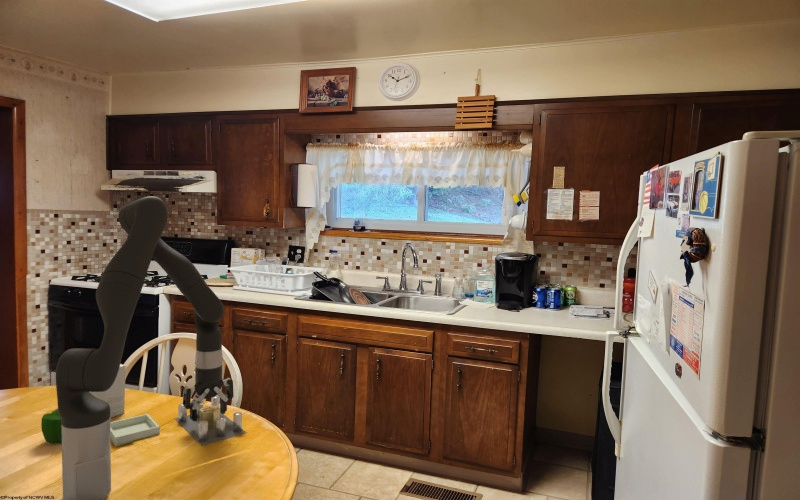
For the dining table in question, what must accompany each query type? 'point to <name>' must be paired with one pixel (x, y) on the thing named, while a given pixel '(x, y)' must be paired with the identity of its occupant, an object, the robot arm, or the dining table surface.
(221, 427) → the standing spacers
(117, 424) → the sage parts tray
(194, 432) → the mat
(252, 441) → the dining table surface
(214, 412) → the yellow faceted hexagonal block
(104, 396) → the skincare box
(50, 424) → the bell pepper
